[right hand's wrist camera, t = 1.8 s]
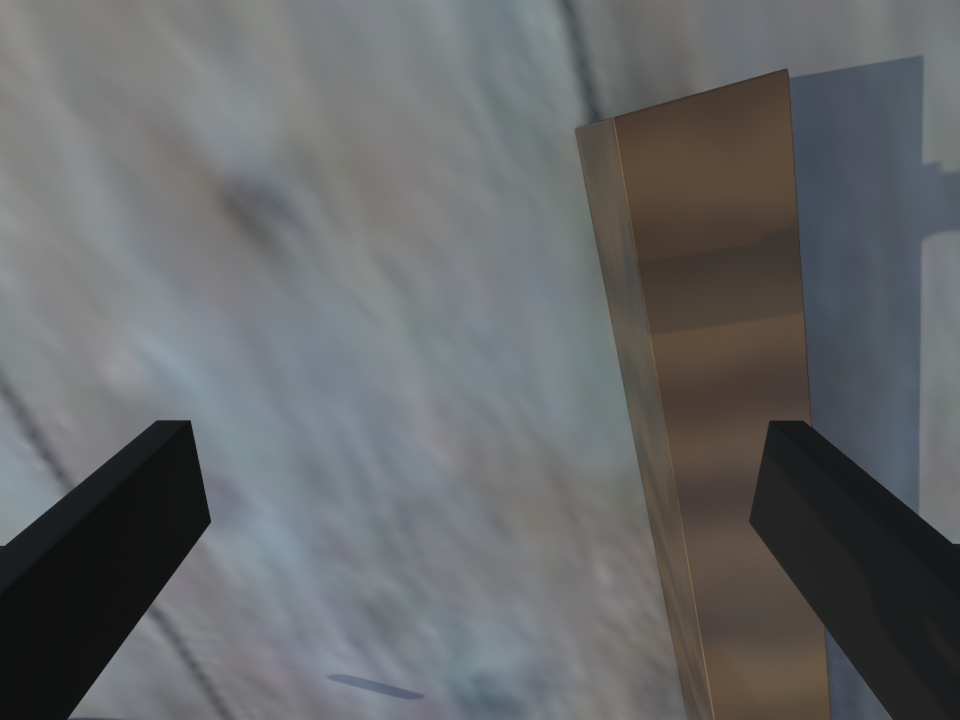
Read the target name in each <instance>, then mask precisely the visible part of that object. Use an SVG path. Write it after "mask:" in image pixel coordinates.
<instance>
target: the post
mask: <svg viewBox="0 0 960 720" xmlns="http://www.w3.org/2000/svg"><path fill="white" fill-rule="evenodd" d="M575 134H576V139H577V144H578V149H579V155H580V160H581V165H582V170H583V176H584V181H585V186H586V191H587V197H588V202H589V207H590V212H591V217H592V223H593V228H594V233H595V238H596V244H597V249H598V254H599V259H600V264H601V270H602V275H603V280H604V285H605V291H606V296H607V301H608V306H609V312H610V317H611V322H612V327H613V332H614V338H615V343H616V348H617V353H618V359H619V364H620V369H621V374H622V380H623V385H624V390H625V395H626V400H627V406H628V411H629V416H630V421H631V427H632V432H633V437H634V442H635V448H636V453H637V458H638V463H639V468H640V474H641V479H642V484H643V489H644V495H645V500H646V505H647V510H648V516H649V521H650V526H651V531H652V536H653V542H654V547H655V552H656V557H657V563H658V568H659V573H660V578H661V583H662V589H663V594H664V599H665V604H666V610H667V615H668V620H669V625H670V631H671V636H672V641H673V646H674V651H675V657H676V662H677V667H678V672H679V678H680V683H681V688H682V693H683V699H684V704H685V709H686V714H687V719H688V720H831V715H830V700H829V684H828V669H827V654H826V639H825V626H824V624H823V623H822V622H821V620H820V619H819V617H818V616H817V615H816V613H815V612H814V611H813V609H812V608H811V606H810V605H809V604H808V602H807V601H806V600H805V598H804V597H803V595H802V594H801V593H800V591H799V590H798V589H797V587H796V586H795V585H794V583H793V582H792V580H791V579H790V578H789V576H788V575H787V574H786V572H785V571H784V569H783V568H782V567H781V565H780V564H779V563H778V561H777V560H776V559H775V557H774V556H773V554H772V553H771V552H770V550H769V549H768V548H767V546H766V545H765V543H764V542H763V541H762V539H761V538H760V537H759V535H758V534H757V532H756V531H755V530H754V528H753V527H752V526H751V524H750V523H749V519H750V514H751V509H752V504H753V499H754V494H755V489H756V484H757V479H758V474H759V469H760V465H761V460H762V455H763V450H764V445H765V440H766V435H767V430H768V425H769V420H803V421H804V422H806V423H807V424H808V425H809V426H811V410H810V395H809V380H808V365H807V349H806V334H805V319H804V304H803V289H802V273H801V258H800V243H799V228H798V212H797V197H796V182H795V167H794V152H793V136H792V121H791V106H790V91H789V75H788V69H783V70H779V71H776V72H772V73H768V74H765V75H761V76H758V77H754V78H751V79H747V80H744V81H740V82H737V83H733V84H730V85H726V86H723V87H719V88H715V89H712V90H708V91H705V92H701V93H698V94H694V95H691V96H687V97H684V98H680V99H677V100H673V101H670V102H666V103H662V104H659V105H655V106H652V107H648V108H645V109H641V110H638V111H634V112H631V113H627V114H624V115H620V116H617V117H613V118H610V119H606V120H603V121H599V122H596V123H592V124H588V125H585V126H581V127H578V128H576V129H575ZM811 427H812V426H811Z"/></svg>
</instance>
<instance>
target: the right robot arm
mask: <svg viewBox="0 0 960 720" xmlns="http://www.w3.org/2000/svg"><path fill="white" fill-rule="evenodd" d="M210 523H211V519H210V514H209V509H208V504H207V499H206V494H205V489H204V484H203V479H202V474H201V469H200V465H199V460H198V455H197V450H196V445H195V440H194V435H193V430H192V425H191V420H157V421H156V422H154V423H153V424H152V425H151V426H149V427H148V428H147V429H146V430H145V431H143V432H142V433H141V434H140V435H139V436H137V437H136V438H135V439H134V440H133V441H131V442H130V443H129V444H128V445H126V446H125V447H124V448H123V449H122V450H120V451H119V452H118V453H117V454H116V455H114V456H113V457H112V458H111V459H109V460H108V461H107V462H106V463H105V464H103V465H102V466H101V467H100V468H99V469H97V470H96V471H95V472H94V473H93V474H91V475H90V476H89V477H88V478H86V479H85V480H84V481H83V482H82V483H80V484H79V485H78V486H77V487H76V488H74V489H73V490H72V491H71V492H69V493H68V494H67V495H66V496H65V497H63V498H62V499H61V500H60V501H59V502H57V503H56V504H55V505H54V506H53V507H51V508H50V509H49V510H48V511H46V512H45V513H44V514H43V515H42V516H40V517H39V518H38V519H37V520H36V521H34V522H33V523H32V524H31V525H29V526H28V527H27V528H26V529H25V530H23V531H22V532H21V533H20V534H19V535H17V536H16V537H15V538H14V539H13V540H11V541H10V542H9V543H8V544H6V545H5V546H0V720H67V719H68V717H69V716H70V715H71V713H72V712H73V711H74V709H75V708H76V706H77V705H78V704H79V702H80V701H81V700H82V698H83V697H84V695H85V694H86V693H87V691H88V690H89V689H90V687H91V686H92V685H93V683H94V682H95V680H96V679H97V678H98V676H99V675H100V674H101V672H102V671H103V669H104V668H105V667H106V665H107V664H108V663H109V661H110V660H111V658H112V657H113V656H114V654H115V653H116V652H117V650H118V649H119V648H120V646H121V645H122V643H123V642H124V641H125V639H126V638H127V637H128V635H129V634H130V632H131V631H132V630H133V628H134V627H135V626H136V624H137V623H138V622H139V620H140V619H141V617H142V616H143V615H144V613H145V612H146V611H147V609H148V608H149V606H150V605H151V604H152V602H153V601H154V600H155V598H156V597H157V595H158V594H159V593H160V591H161V590H162V589H163V587H164V586H165V585H166V583H167V582H168V580H169V579H170V578H171V576H172V575H173V574H174V572H175V571H176V569H177V568H178V567H179V565H180V564H181V563H182V561H183V560H184V559H185V557H186V556H187V554H188V553H189V552H190V550H191V549H192V548H193V546H194V545H195V543H196V542H197V541H198V539H199V538H200V537H201V535H202V534H203V532H204V531H205V530H206V528H207V527H208V526H209V524H210ZM749 523H750V524H751V526H752V527H753V528H754V530H755V531H756V532H757V534H758V535H759V537H760V538H761V539H762V541H763V542H764V543H765V545H766V546H767V548H768V549H769V550H770V552H771V553H772V554H773V556H774V557H775V559H776V560H777V561H778V563H779V564H780V565H781V567H782V568H783V569H784V571H785V572H786V574H787V575H788V576H789V578H790V579H791V580H792V582H793V583H794V585H795V586H796V587H797V589H798V590H799V591H800V593H801V594H802V595H803V597H804V598H805V600H806V601H807V602H808V604H809V605H810V606H811V608H812V609H813V611H814V612H815V613H816V615H817V616H818V617H819V619H820V620H821V622H822V623H823V624H824V626H825V627H826V628H827V630H828V631H829V632H830V634H831V635H832V637H833V638H834V639H835V641H836V642H837V643H838V645H839V646H840V648H841V649H842V650H843V652H844V653H845V654H846V656H847V657H848V658H849V660H850V661H851V663H852V664H853V665H854V667H855V668H856V669H857V671H858V672H859V674H860V675H861V676H862V678H863V679H864V680H865V682H866V683H867V685H868V686H869V687H870V689H871V690H872V691H873V693H874V694H875V695H876V697H877V698H878V700H879V701H880V702H881V704H882V705H883V706H884V708H885V709H886V711H887V712H888V713H889V715H890V716H891V717H892V719H893V720H960V544H952V543H951V542H950V541H949V540H947V539H946V538H945V537H944V536H943V535H941V534H940V533H939V532H938V531H937V530H935V529H934V528H933V527H932V526H931V525H929V524H928V523H927V522H926V521H924V520H923V519H922V518H921V517H920V516H918V515H917V514H916V513H915V512H914V511H912V510H911V509H910V508H909V507H907V506H906V505H905V504H904V503H903V502H901V501H900V500H899V499H898V498H897V497H895V496H894V495H893V494H892V493H891V492H889V491H888V490H887V489H886V488H884V487H883V486H882V485H881V484H880V483H878V482H877V481H876V480H875V479H874V478H872V477H871V476H870V475H869V474H867V473H866V472H865V471H864V470H863V469H861V468H860V467H859V466H858V465H857V464H855V463H854V462H853V461H852V460H851V459H849V458H848V457H847V456H846V455H844V454H843V453H842V452H841V451H840V450H838V449H837V448H836V447H835V446H834V445H832V444H831V443H830V442H829V441H827V440H826V439H825V438H824V437H823V436H821V435H820V434H819V433H818V432H817V431H815V430H814V429H813V428H812V427H811V426H809V425H808V424H807V423H806V422H804V421H803V420H769V425H768V430H767V435H766V440H765V445H764V450H763V455H762V460H761V465H760V469H759V474H758V479H757V484H756V489H755V494H754V499H753V504H752V509H751V514H750V519H749Z"/></svg>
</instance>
